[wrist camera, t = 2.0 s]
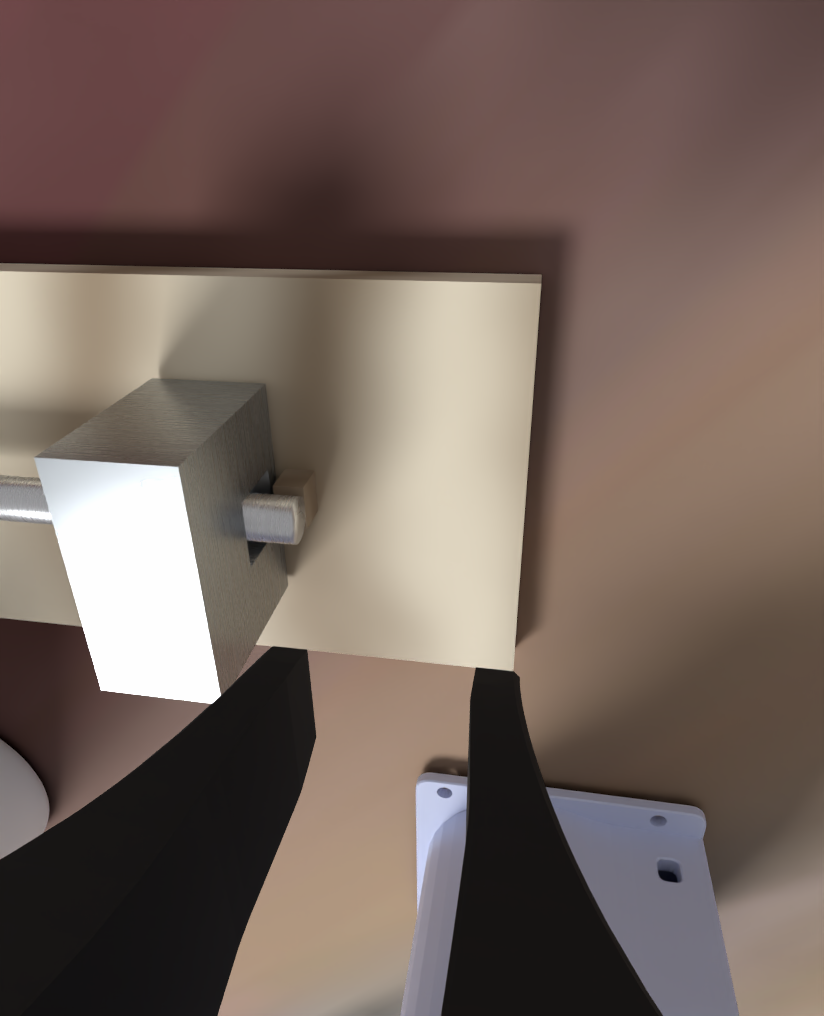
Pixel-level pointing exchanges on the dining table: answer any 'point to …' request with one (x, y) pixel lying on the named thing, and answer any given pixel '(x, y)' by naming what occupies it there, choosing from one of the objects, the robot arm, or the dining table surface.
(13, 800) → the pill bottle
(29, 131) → the dining table surface
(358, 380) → the bolt board
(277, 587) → the grey block with hole
